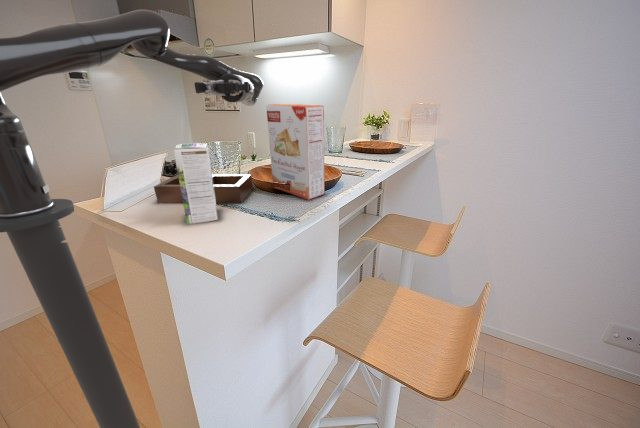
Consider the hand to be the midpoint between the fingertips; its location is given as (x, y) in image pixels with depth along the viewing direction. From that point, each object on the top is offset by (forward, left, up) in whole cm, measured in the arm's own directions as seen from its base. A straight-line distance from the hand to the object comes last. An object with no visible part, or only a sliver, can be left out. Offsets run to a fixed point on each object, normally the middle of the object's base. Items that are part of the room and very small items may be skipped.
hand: (214, 86), depth 70 cm
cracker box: (+20, -6, -25) cm, 33 cm away
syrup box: (+3, -23, -25) cm, 34 cm away
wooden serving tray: (-2, -9, -25) cm, 27 cm away
